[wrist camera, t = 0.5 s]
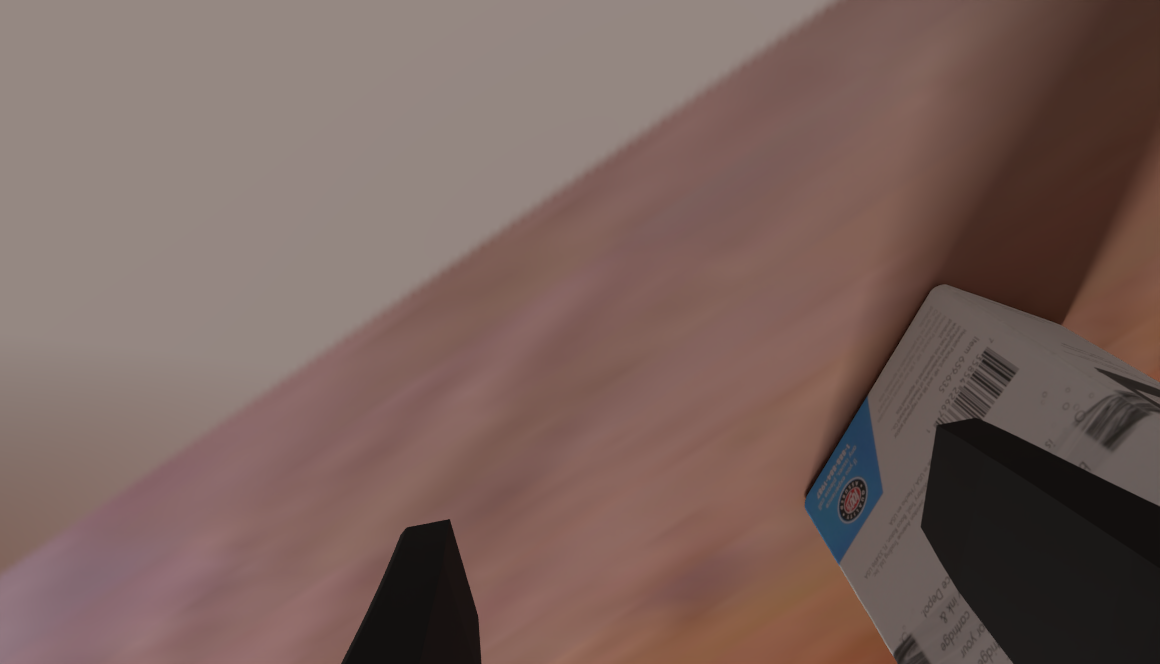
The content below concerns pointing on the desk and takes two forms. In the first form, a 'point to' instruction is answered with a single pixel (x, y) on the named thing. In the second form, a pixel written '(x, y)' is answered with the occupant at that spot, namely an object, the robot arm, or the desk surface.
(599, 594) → the desk surface
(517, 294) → the desk surface
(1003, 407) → the ink box
